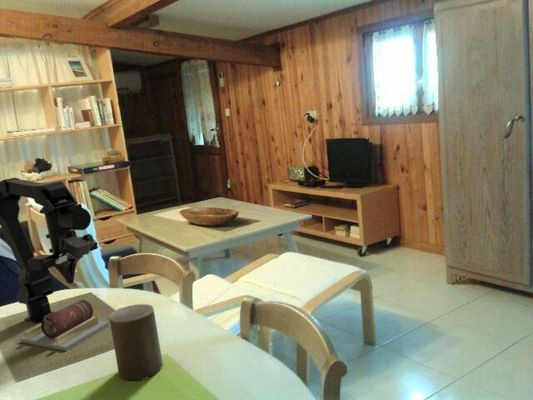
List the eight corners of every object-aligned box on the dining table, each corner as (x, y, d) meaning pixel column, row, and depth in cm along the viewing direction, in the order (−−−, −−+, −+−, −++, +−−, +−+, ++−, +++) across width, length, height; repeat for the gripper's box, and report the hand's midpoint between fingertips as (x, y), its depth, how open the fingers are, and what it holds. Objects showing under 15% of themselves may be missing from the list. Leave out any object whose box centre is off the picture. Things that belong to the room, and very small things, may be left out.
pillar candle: (140, 384, 105) (129, 318, 103) (109, 375, 111) (98, 312, 108) (172, 362, 113) (162, 300, 111) (141, 355, 119) (131, 295, 116)
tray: (21, 341, 134) (18, 331, 134) (64, 318, 147) (62, 309, 146) (66, 350, 126) (64, 339, 125) (109, 325, 138) (107, 315, 137)
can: (85, 294, 143) (48, 311, 130) (97, 312, 142) (61, 331, 129) (72, 305, 145) (35, 323, 132) (85, 323, 144) (48, 343, 131)
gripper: (50, 239, 123) (62, 299, 126) (106, 219, 139) (116, 273, 142) (21, 238, 128) (34, 295, 131) (78, 219, 144) (89, 270, 147)
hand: (70, 283), depth 138 cm, fingers closed
